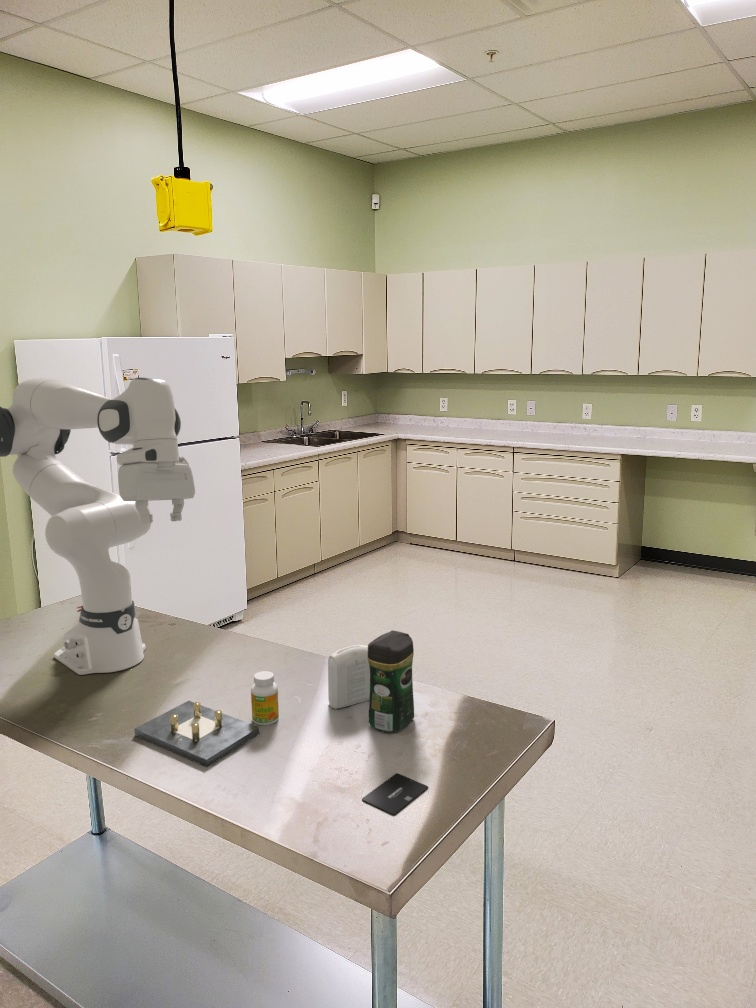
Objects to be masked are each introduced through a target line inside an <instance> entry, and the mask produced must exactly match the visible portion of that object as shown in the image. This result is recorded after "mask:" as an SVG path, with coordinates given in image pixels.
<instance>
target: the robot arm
mask: <svg viewBox="0 0 756 1008" xmlns="http://www.w3.org/2000/svg"><path fill="white" fill-rule="evenodd" d="M127 386H128V387H127V388H126V389H125V390H124V391H123V392H122V393H121V394H119V395H118V396H117V395H116V397H114V398H110V397H106V396H104V395H101V394H99V393H96V392H93V391H91V390H88V389H85V388H82V387H79V386H76V385H75V384H71V383H68V382H65V381H61V380H56V379H53V378H52V379H51V378H32V379H31V378H30V379H26V380H23V381H22V382H20V383H19V384H17V386H15V388H14V391H13V393H12V404H11V405H10V406H8V407H6V408H5V407H4V408H3V407H2V406H0V458H3V457H8V456H13V455H14V456H15V455H16V456H17V458H16V459H15V461H14V463H13V465H12V475H13V477H14V479H15V481H16V482H17V483H18V485H19V487H20V488H21V489H22V490H23V491H24V492H25V493H26V495H27V496H28V497H29V498H31V499H32V500H33V501H34V502H35V503H36V504H38V505H39V507H41V508H42V509H43V510H45V512H47V514H49V515H50V517H49V519H48V520H47V523H46V526H45V529H44V531H45V532H44V533H45V534H44V535H45V540H46V543H47V545H48V546H49V548H50V549H51V550H52V551H53V553H55V555H58V556H60V557H62V558H64V559H65V560H66V561H67V562H69V563H70V565H71V566H72V567H73V568H74V570H75V572H76V575H77V578H78V580H79V586H80V593H81V600H82V605H81V606H78V607H76V609H78V610H76V612H77V613H80V614H79V618H78V621H77V622H76V623H74V624H73V625H72V626H71V627H70V628H69V629H67V630H66V631H65V633H64V635H63V646H62V647H61V648H59V649H58V650H56V651H55V652H54V655H53V656H54V658H55V659H56V660H57V661H59V662H60V663H61V664H63V665H64V666H65V667H67V668H68V669H70V670H71V671H73V672H74V673H76V674H77V675H80V676H81V675H82V676H84V675H89V674H98V673H99V674H102V673H104V674H105V673H113V672H114V673H115V672H119V671H124V670H126V669H129V668H132V667H134V666H136V665H137V664H139V663H141V662H142V661H143V659H144V657H145V653H144V652H145V650H146V649H147V648H146V643H144V642H143V640H142V636H141V630H140V629H141V628H140V624H139V619H137V618H136V606H135V602H134V600H133V596H132V584H131V582H132V581H131V573H130V571H129V570H128V569H127V567H125V565H123V564H121V563H118V562H115V561H112V559H111V556H110V553H109V549H110V548H114V547H117V546H120V545H124V544H129V543H131V542H133V541H136V540H137V539H139V538H141V537H142V536H144V535H146V534H147V533H148V532H149V530H150V529H151V527H152V526H151V525H152V523H153V522H154V519H153V514H152V513H151V510H150V508H149V501H171V505H172V506H173V508H172V512H170V513H169V515H170V516H169V517H170V521H171V522H181V521H182V516H183V515H182V512H183V508H184V505H185V500H188V499H194V497H195V495H196V488H195V482H194V476H193V471H192V468H191V466H190V463H189V461H187V459H186V458H185V457H184V456H179V455H180V454H179V453H180V452H179V445H178V444H179V443H178V442H179V441H178V436H179V434H180V431H181V428H182V427H181V426H182V421H181V418H180V414H179V411H177V409H176V407H175V400H174V395H173V392H172V388H171V385H170V384H169V382H168V381H166V380H164V379H160V378H153V377H152V378H151V377H135V378H132V379H131V380H130V382H129V384H128V385H127ZM94 428H95V429H97V428H98V431H99V433H100V435H101V437H102V438H103V439H104V440H105V441H106V442H108V443H111V444H115V445H131V446H133V447H131V448H129V449H127V450H124V451H122V452H120V453H118V454H117V455H116V462H117V464H118V466H119V465H120V466H119V468H118V471H117V472H118V473H117V479H118V481H117V482H118V483H117V484H118V493H116V492H113V491H110V490H108V489H105V488H102V487H100V486H97V485H95V484H92V483H91V482H88V481H87V480H85V479H83V478H82V477H81V476H80V475H78V474H77V473H76V472H74V470H72V469H71V468H69V467H68V466H67V465H65V464H64V463H63V462H62V461H60V460H59V459H58V458H57V456H56V455H59V454H61V453H62V452H63V450H64V449H65V445H66V444H67V443H68V441H69V438H70V435H71V432H72V431H71V430H83V429H94Z"/></svg>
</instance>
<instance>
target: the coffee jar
mask: <svg viewBox="0 0 756 1008" xmlns="http://www.w3.org/2000/svg"><path fill="white" fill-rule="evenodd" d="M367 646H368V657H367V658H368V663H369V667H370V695H369V700H368V725H369V726H370V727H371V728H373V729H374V730H376V731H378V732H382V733H398V732H400V731H402V730H403V729H405V728H406V727H407V726H408V725H410V724H411V722H412V721H413V720H414V718H415V702H414V701H415V699H414V689H413V688H414V683H413V682H414V681H413V662H414V652H415V651H414V642H413V639H412V637H411V636H410V634H409V633H406V632H402V631H398V630H390V631H387V632H385V633H384V634H383V633H382V634H381V635H380V636H377V637H376V638H374V639H373V640H372V641H370V642H369V643H368V645H367Z"/></svg>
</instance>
